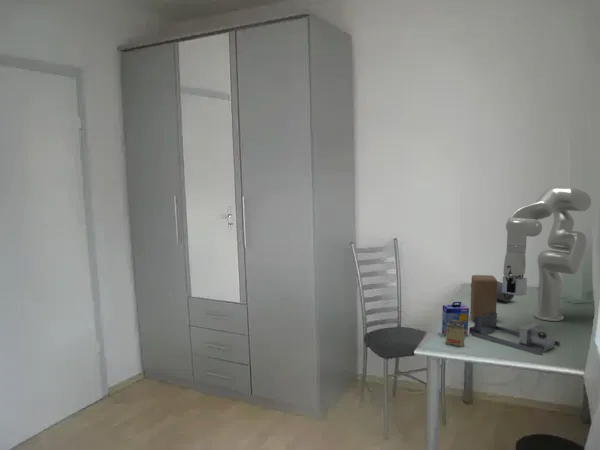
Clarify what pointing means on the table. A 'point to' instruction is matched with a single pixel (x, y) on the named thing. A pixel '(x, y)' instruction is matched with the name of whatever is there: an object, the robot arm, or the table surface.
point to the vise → (488, 324)
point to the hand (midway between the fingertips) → (514, 290)
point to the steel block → (516, 286)
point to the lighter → (455, 333)
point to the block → (483, 295)
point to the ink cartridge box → (455, 316)
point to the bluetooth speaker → (502, 295)
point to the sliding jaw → (536, 337)
